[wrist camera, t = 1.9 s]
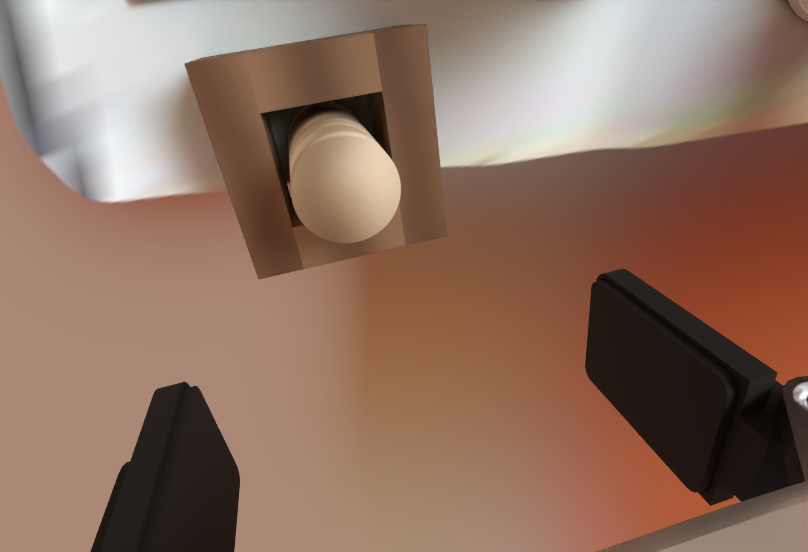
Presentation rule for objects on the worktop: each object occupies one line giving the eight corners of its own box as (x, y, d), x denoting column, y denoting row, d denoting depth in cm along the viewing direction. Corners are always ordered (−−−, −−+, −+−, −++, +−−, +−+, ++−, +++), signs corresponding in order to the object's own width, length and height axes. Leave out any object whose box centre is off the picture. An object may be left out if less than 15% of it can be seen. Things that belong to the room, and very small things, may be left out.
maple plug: (356, 95, 32) (392, 126, 22) (369, 170, 34) (407, 230, 24) (278, 109, 31) (277, 148, 21) (298, 185, 34) (306, 253, 23)
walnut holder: (401, 25, 30) (426, 24, 25) (424, 207, 37) (447, 235, 32) (201, 57, 29) (184, 63, 24) (262, 242, 35) (258, 279, 30)
